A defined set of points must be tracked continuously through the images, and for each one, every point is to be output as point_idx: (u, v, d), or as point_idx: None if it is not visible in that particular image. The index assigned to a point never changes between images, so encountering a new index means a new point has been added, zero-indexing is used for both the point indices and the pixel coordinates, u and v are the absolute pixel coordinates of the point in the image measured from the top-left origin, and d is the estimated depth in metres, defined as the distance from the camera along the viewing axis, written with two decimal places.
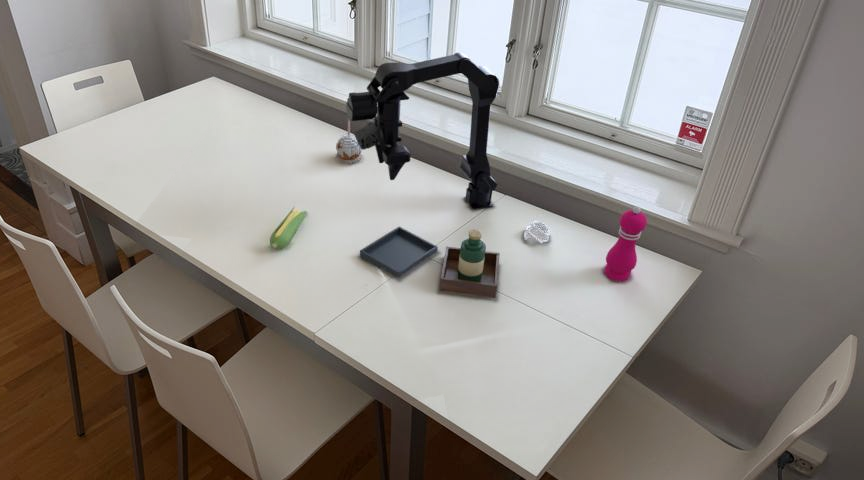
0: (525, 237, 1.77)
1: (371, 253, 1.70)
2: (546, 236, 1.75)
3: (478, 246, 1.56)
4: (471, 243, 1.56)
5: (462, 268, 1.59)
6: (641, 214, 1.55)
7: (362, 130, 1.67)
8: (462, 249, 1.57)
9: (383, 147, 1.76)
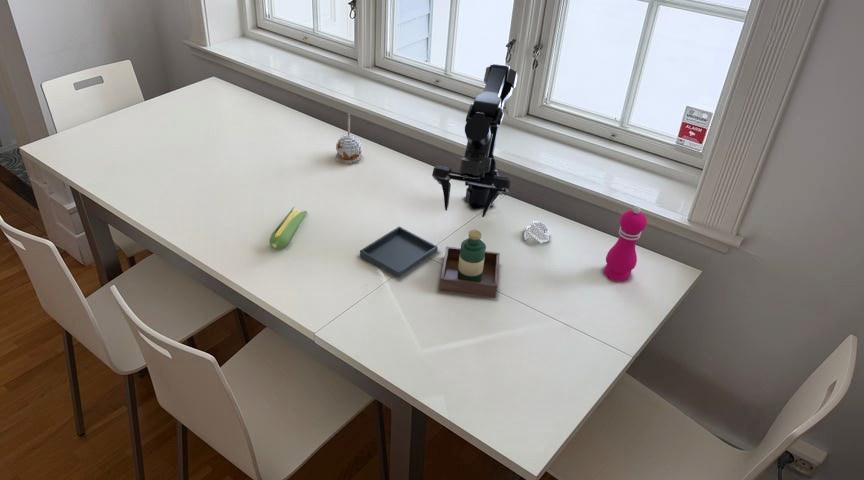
0: (525, 237, 1.77)
1: (371, 253, 1.70)
2: (546, 236, 1.75)
3: (478, 246, 1.56)
4: (471, 243, 1.56)
5: (462, 268, 1.59)
6: (641, 214, 1.55)
7: (467, 159, 1.56)
8: (462, 249, 1.57)
9: (449, 192, 1.64)
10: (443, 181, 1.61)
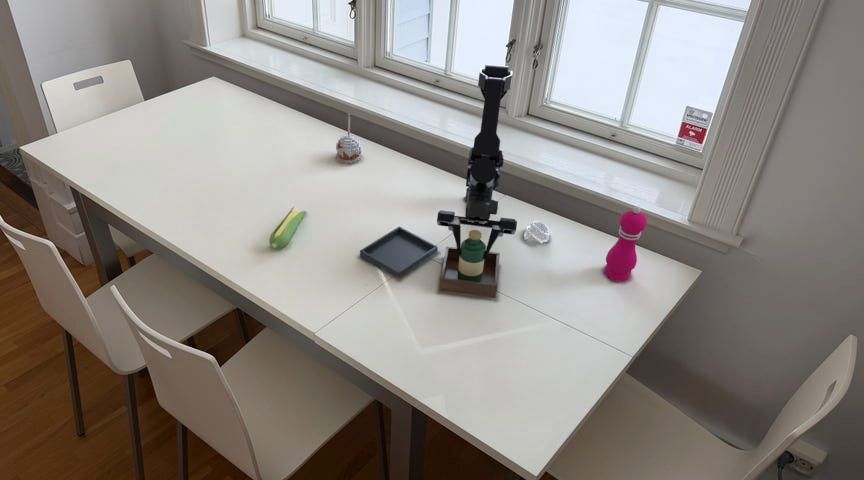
0: (525, 237, 1.77)
1: (371, 253, 1.70)
2: (546, 236, 1.75)
3: (478, 246, 1.56)
4: (471, 243, 1.56)
5: (463, 268, 1.59)
6: (641, 214, 1.55)
7: (474, 202, 1.53)
8: (462, 249, 1.57)
9: None
10: (456, 226, 1.57)
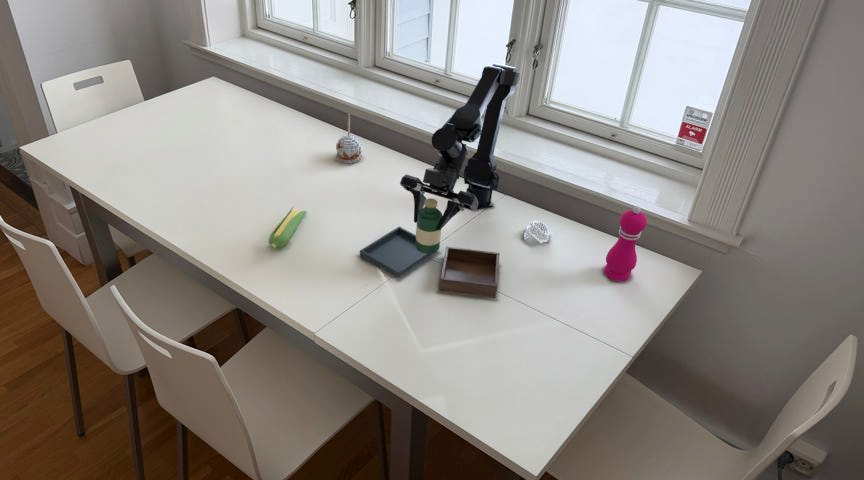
0: (525, 237, 1.77)
1: (371, 253, 1.70)
2: (546, 236, 1.75)
3: (432, 215, 1.55)
4: (426, 211, 1.55)
5: (417, 235, 1.59)
6: (641, 214, 1.55)
7: (432, 169, 1.53)
8: (417, 216, 1.57)
9: (421, 205, 1.59)
10: (415, 192, 1.57)
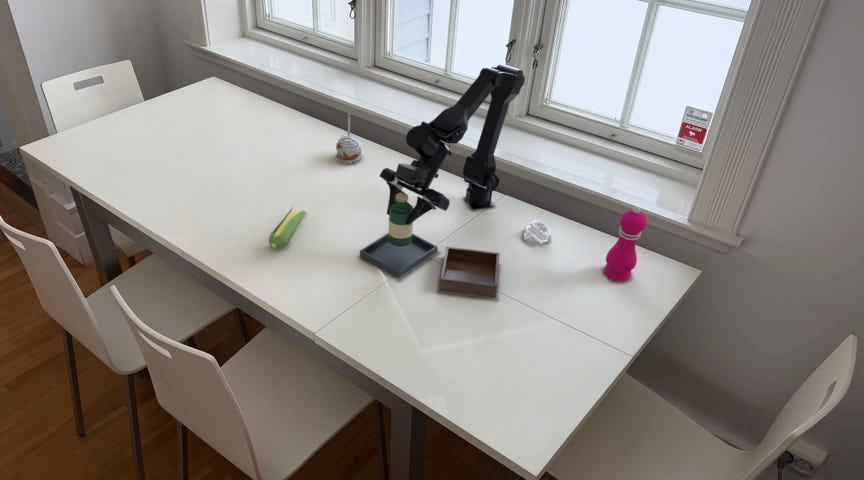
0: (525, 237, 1.77)
1: (371, 253, 1.70)
2: (546, 236, 1.75)
3: (401, 209, 1.60)
4: (396, 204, 1.61)
5: None
6: (641, 214, 1.55)
7: (406, 165, 1.57)
8: (389, 208, 1.62)
9: None
10: (391, 185, 1.63)
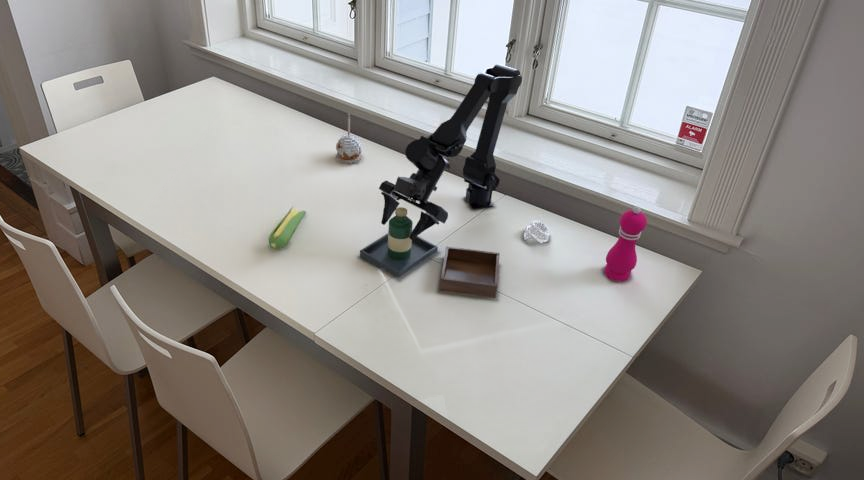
0: (525, 237, 1.77)
1: (371, 253, 1.70)
2: (546, 236, 1.75)
3: (400, 223, 1.62)
4: (396, 218, 1.63)
5: (388, 241, 1.67)
6: (641, 214, 1.55)
7: (405, 178, 1.60)
8: (389, 222, 1.65)
9: (391, 209, 1.68)
10: (385, 196, 1.65)
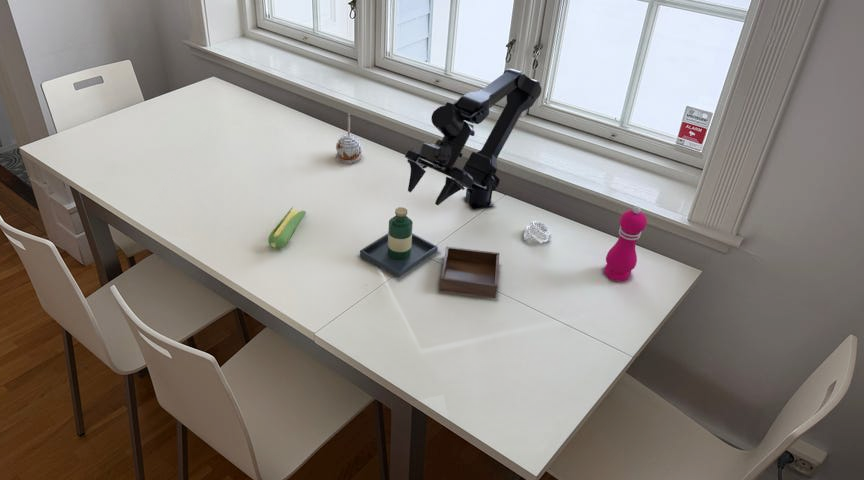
0: (525, 237, 1.77)
1: (371, 253, 1.70)
2: (546, 236, 1.75)
3: (400, 223, 1.62)
4: (396, 218, 1.63)
5: (388, 241, 1.67)
6: (641, 214, 1.55)
7: (430, 144, 1.62)
8: (389, 222, 1.65)
9: (417, 176, 1.70)
10: (411, 163, 1.68)
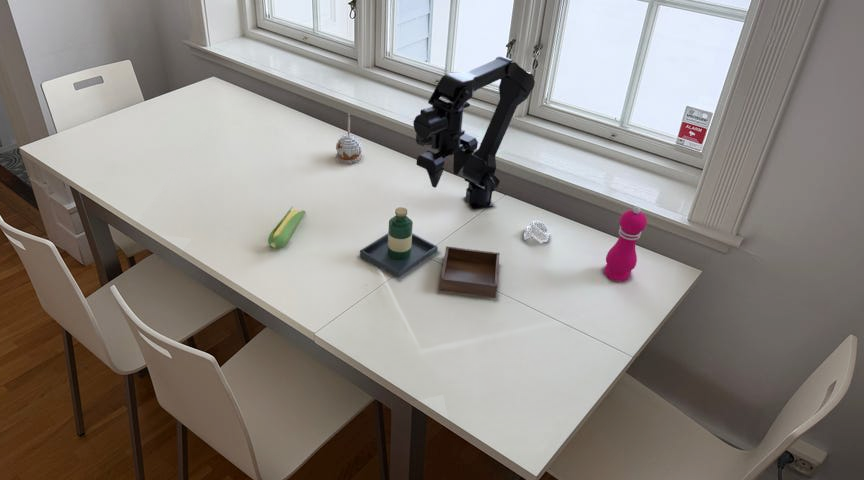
0: (525, 237, 1.77)
1: (371, 253, 1.70)
2: (546, 236, 1.75)
3: (400, 223, 1.62)
4: (396, 218, 1.63)
5: (388, 241, 1.67)
6: (641, 214, 1.55)
7: None
8: (389, 222, 1.65)
9: (459, 160, 1.75)
10: None
